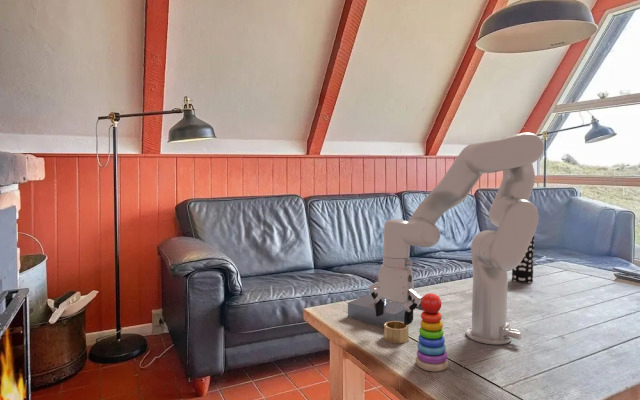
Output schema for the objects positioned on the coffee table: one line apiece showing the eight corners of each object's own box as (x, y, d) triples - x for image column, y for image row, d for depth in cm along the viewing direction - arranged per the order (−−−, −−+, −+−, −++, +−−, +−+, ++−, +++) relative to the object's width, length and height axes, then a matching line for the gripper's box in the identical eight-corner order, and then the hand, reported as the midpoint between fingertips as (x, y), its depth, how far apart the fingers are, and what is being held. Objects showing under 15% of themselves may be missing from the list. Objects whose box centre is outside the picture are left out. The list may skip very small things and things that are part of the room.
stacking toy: (424, 355, 116) (425, 287, 114) (453, 364, 111) (454, 292, 109) (410, 366, 110) (410, 294, 108) (440, 376, 105) (441, 300, 103)
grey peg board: (413, 319, 143) (413, 284, 142) (393, 330, 134) (394, 292, 133) (368, 308, 155) (368, 275, 154) (347, 317, 146) (347, 282, 145)
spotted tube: (507, 279, 193) (508, 234, 191) (522, 277, 195) (524, 233, 194) (521, 283, 185) (523, 237, 183) (537, 282, 187) (538, 236, 186)
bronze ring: (412, 337, 128) (412, 324, 128) (400, 345, 123) (400, 331, 122) (392, 332, 133) (392, 319, 132) (379, 338, 127) (379, 325, 127)
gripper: (429, 265, 123) (426, 324, 124) (378, 255, 134) (376, 309, 136) (416, 269, 117) (413, 331, 119) (364, 259, 129) (362, 315, 130)
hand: (393, 319), depth 127 cm, fingers open, 9 cm apart
